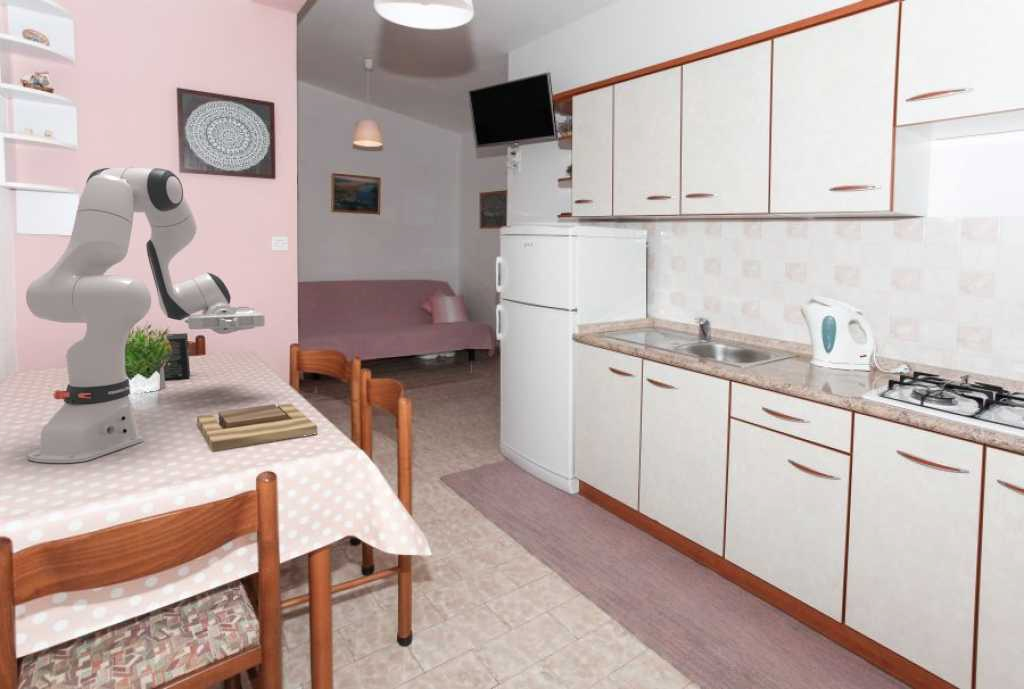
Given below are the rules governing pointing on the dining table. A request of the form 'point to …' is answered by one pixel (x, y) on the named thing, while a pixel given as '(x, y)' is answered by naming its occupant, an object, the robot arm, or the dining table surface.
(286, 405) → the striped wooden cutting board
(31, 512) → the dining table surface
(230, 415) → the plank
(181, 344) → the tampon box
